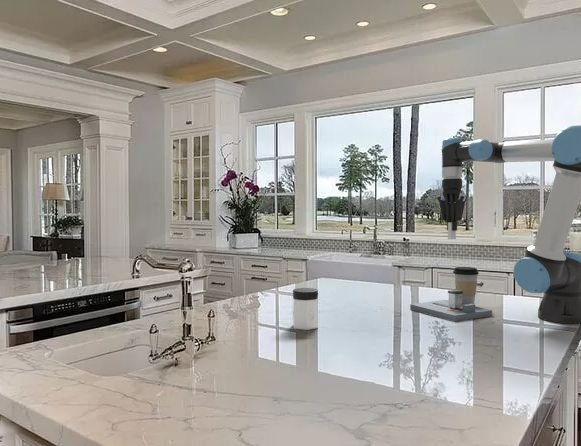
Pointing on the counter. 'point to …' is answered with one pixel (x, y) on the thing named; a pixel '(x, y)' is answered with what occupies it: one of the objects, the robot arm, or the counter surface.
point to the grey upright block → (455, 298)
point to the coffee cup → (466, 283)
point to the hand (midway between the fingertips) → (451, 239)
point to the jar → (305, 308)
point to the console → (451, 310)
